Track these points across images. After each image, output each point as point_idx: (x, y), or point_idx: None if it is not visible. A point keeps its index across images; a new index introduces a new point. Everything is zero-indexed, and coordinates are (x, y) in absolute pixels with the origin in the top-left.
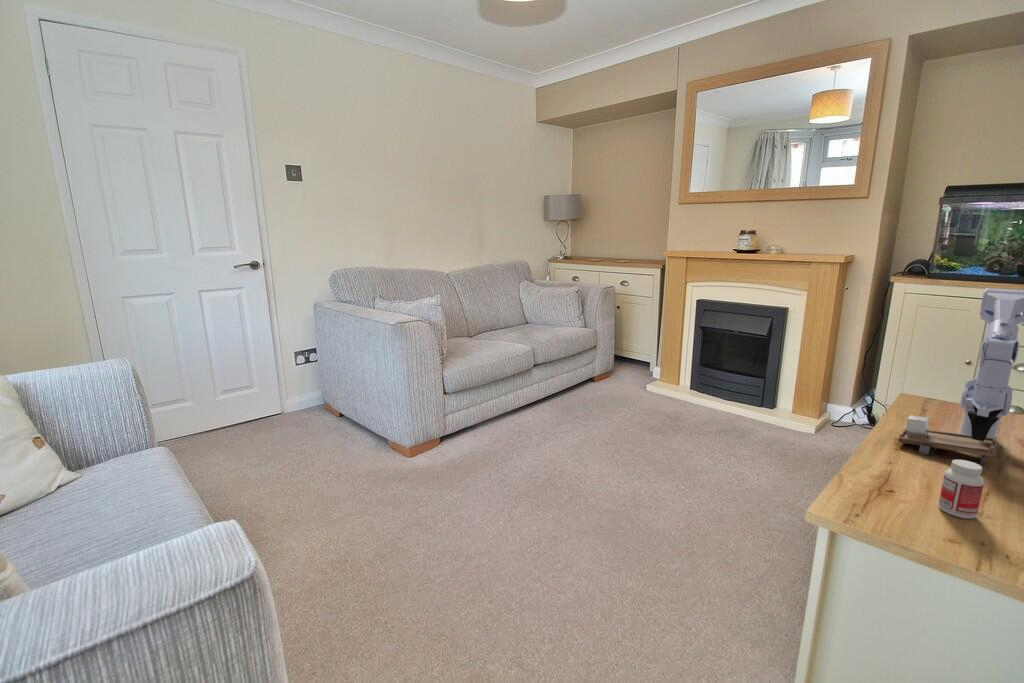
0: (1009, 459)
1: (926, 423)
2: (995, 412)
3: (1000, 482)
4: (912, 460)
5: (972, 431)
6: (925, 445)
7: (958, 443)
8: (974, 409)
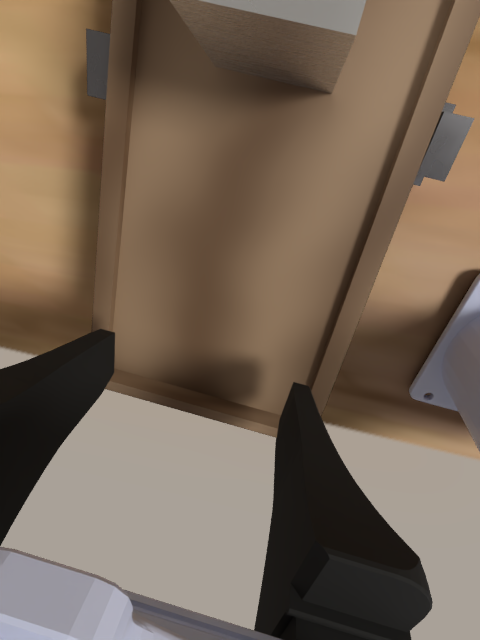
0: (337, 413)
1: (227, 25)
2: (264, 602)
3: (63, 333)
4: (15, 10)
5: (59, 350)
6: (100, 67)
7: (182, 258)
8: (304, 507)
